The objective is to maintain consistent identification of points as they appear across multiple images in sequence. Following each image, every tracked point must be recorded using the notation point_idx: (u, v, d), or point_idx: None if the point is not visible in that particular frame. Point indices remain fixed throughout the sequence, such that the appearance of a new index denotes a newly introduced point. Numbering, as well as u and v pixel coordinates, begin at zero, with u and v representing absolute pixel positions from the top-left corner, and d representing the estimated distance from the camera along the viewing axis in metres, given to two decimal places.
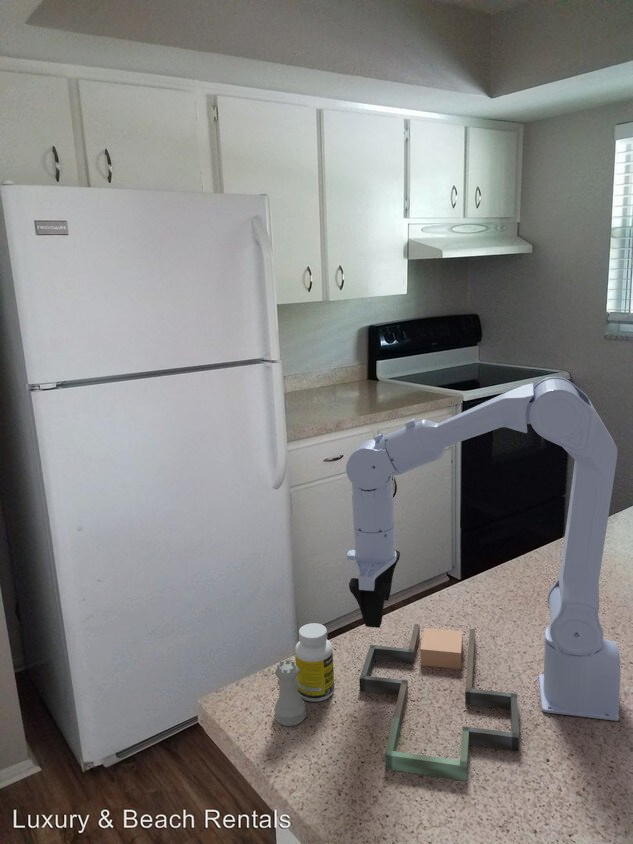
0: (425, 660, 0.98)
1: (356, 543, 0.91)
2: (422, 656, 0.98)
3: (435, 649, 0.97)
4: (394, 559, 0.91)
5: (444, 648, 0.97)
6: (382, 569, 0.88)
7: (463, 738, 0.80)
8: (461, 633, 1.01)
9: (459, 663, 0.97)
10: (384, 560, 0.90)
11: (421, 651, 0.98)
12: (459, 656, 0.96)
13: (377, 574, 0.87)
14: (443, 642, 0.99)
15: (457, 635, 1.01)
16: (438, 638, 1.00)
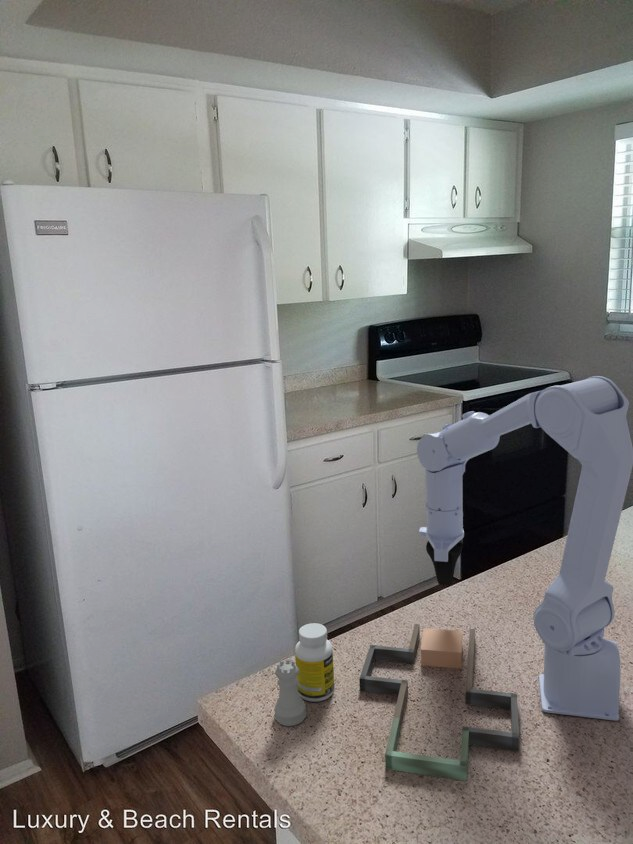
0: (426, 660, 0.98)
1: (429, 520, 1.02)
2: (422, 656, 0.98)
3: (435, 649, 0.97)
4: (462, 535, 1.02)
5: (445, 648, 0.97)
6: (453, 543, 1.00)
7: (463, 738, 0.80)
8: (461, 633, 1.01)
9: (460, 663, 0.97)
10: (454, 535, 1.01)
11: (422, 651, 0.98)
12: (460, 656, 0.96)
13: (450, 547, 0.98)
14: (443, 642, 0.99)
15: (457, 635, 1.01)
16: (438, 638, 1.00)
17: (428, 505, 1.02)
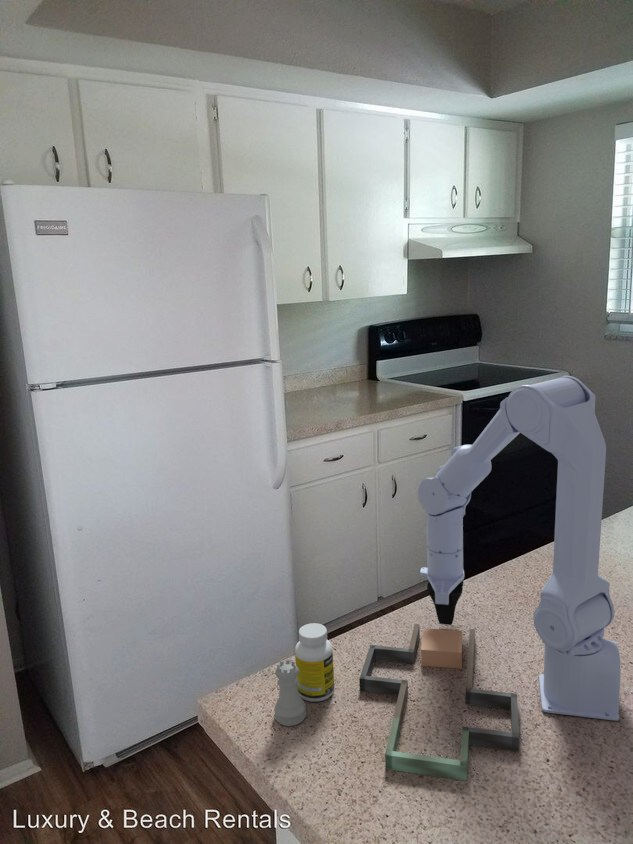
0: (426, 660, 0.98)
1: (429, 562, 1.04)
2: (422, 656, 0.98)
3: (436, 649, 0.97)
4: (463, 576, 1.04)
5: (445, 648, 0.97)
6: (454, 585, 1.01)
7: (463, 738, 0.80)
8: (460, 633, 1.01)
9: (460, 663, 0.97)
10: (455, 577, 1.03)
11: (422, 652, 0.98)
12: (460, 656, 0.96)
13: (450, 590, 1.00)
14: (443, 642, 0.99)
15: (457, 635, 1.01)
16: (438, 638, 1.00)
17: (429, 547, 1.03)
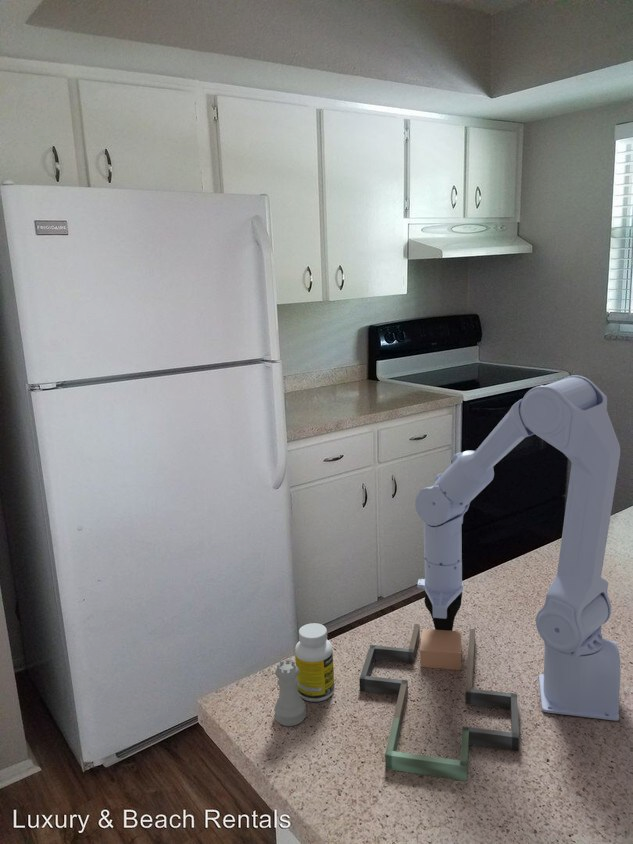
0: (425, 661, 0.97)
1: (427, 574, 1.00)
2: (421, 657, 0.97)
3: (435, 650, 0.97)
4: (461, 588, 1.00)
5: (444, 649, 0.97)
6: (452, 598, 0.97)
7: (463, 738, 0.80)
8: (460, 633, 1.01)
9: (459, 663, 0.96)
10: (453, 590, 0.99)
11: (421, 652, 0.97)
12: (459, 656, 0.96)
13: (449, 603, 0.96)
14: (442, 643, 0.99)
15: (456, 635, 1.00)
16: (437, 638, 1.00)
17: (428, 559, 0.99)
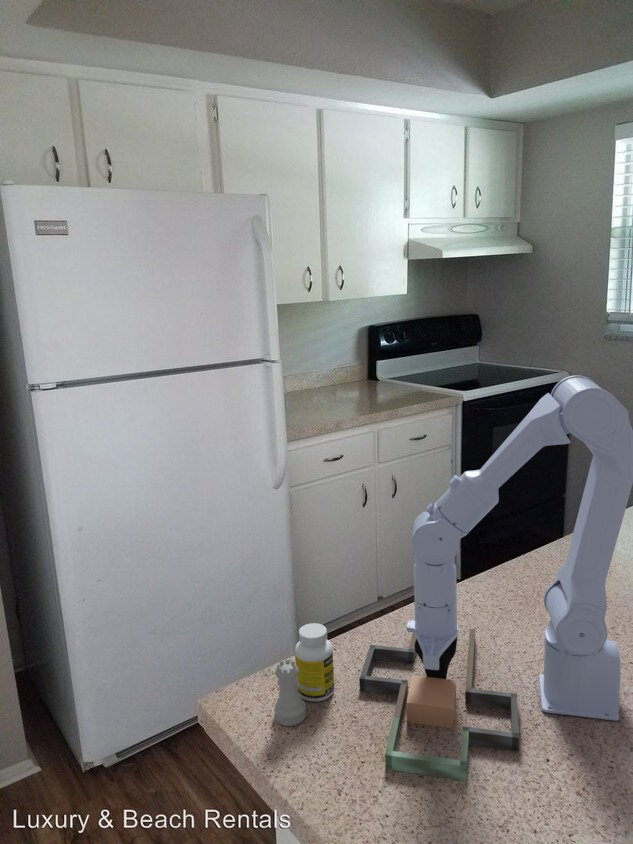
0: (412, 715, 0.86)
1: (417, 616, 0.88)
2: (408, 710, 0.86)
3: (423, 703, 0.85)
4: (456, 633, 0.88)
5: (434, 702, 0.85)
6: (446, 646, 0.85)
7: (463, 738, 0.80)
8: (454, 683, 0.89)
9: (451, 720, 0.84)
10: (447, 635, 0.87)
11: (407, 705, 0.86)
12: (451, 712, 0.84)
13: (441, 652, 0.84)
14: (433, 694, 0.87)
15: (449, 685, 0.88)
16: (428, 688, 0.88)
17: (430, 604, 0.86)
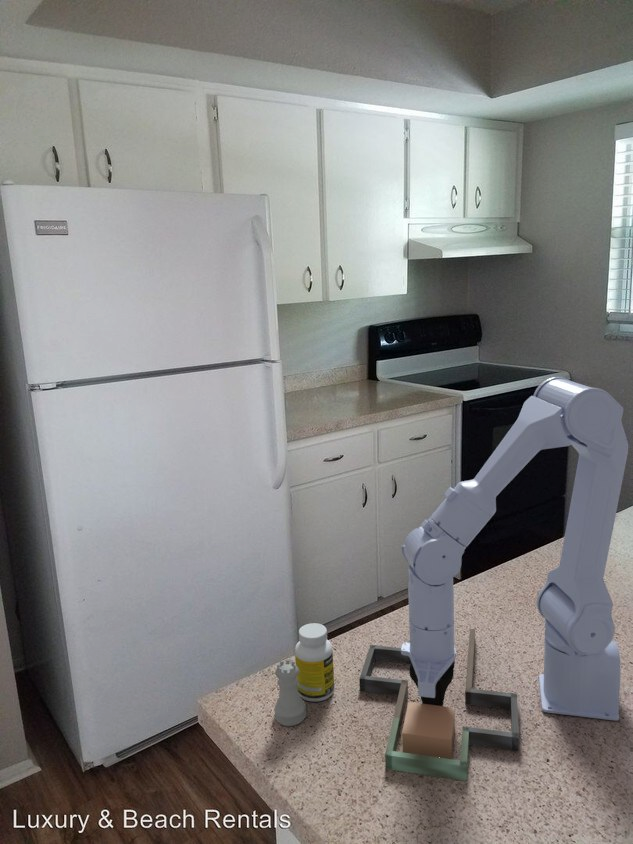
0: (408, 746, 0.80)
1: (412, 639, 0.83)
2: (404, 741, 0.80)
3: (420, 734, 0.80)
4: (454, 657, 0.83)
5: (431, 732, 0.80)
6: (442, 671, 0.80)
7: (463, 738, 0.80)
8: (453, 710, 0.84)
9: (449, 752, 0.79)
10: (444, 659, 0.82)
11: (403, 735, 0.80)
12: (449, 743, 0.79)
13: (438, 678, 0.79)
14: (430, 723, 0.82)
15: (448, 713, 0.83)
16: (425, 717, 0.83)
17: (432, 628, 0.81)
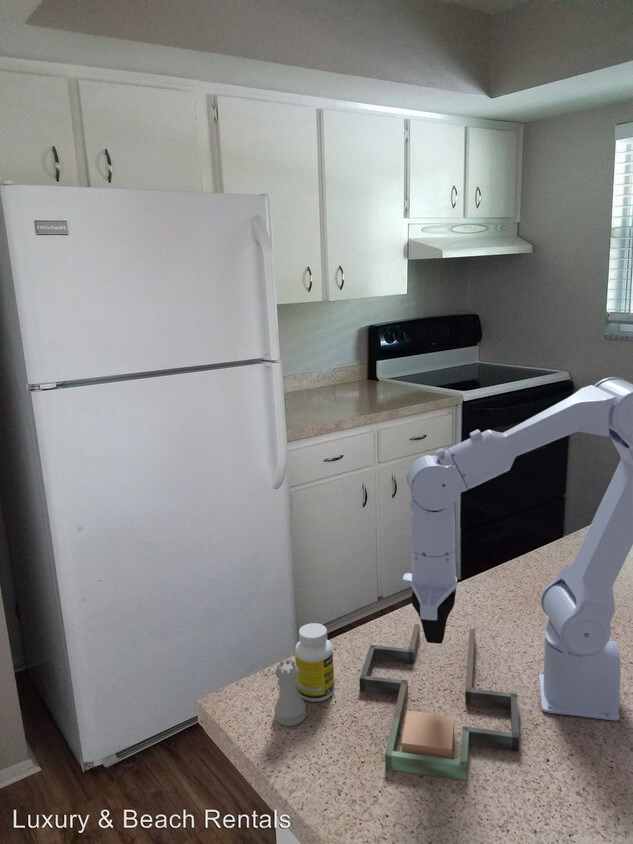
0: None
1: (414, 567, 0.84)
2: (404, 751, 0.79)
3: (420, 743, 0.78)
4: (455, 584, 0.84)
5: (431, 742, 0.79)
6: (444, 596, 0.81)
7: (463, 738, 0.80)
8: (452, 719, 0.82)
9: None
10: (445, 586, 0.83)
11: (403, 745, 0.79)
12: (450, 753, 0.77)
13: (439, 602, 0.80)
14: (430, 732, 0.80)
15: (447, 722, 0.82)
16: (424, 726, 0.81)
17: (429, 553, 0.82)
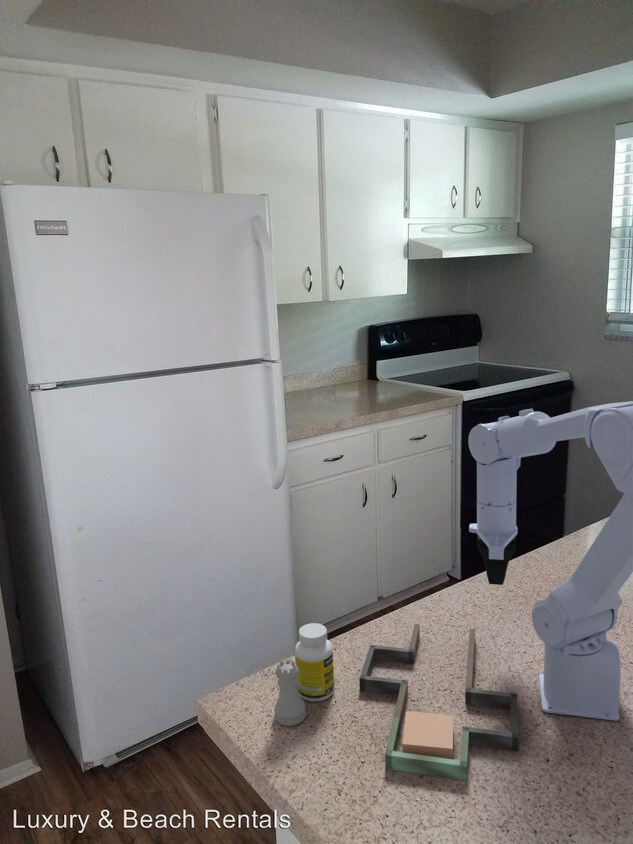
0: None
1: (480, 516, 0.97)
2: (404, 752, 0.79)
3: (420, 744, 0.78)
4: (516, 532, 0.97)
5: (432, 742, 0.79)
6: (508, 540, 0.94)
7: (463, 738, 0.80)
8: (451, 718, 0.82)
9: None
10: (508, 532, 0.96)
11: (403, 746, 0.79)
12: (451, 752, 0.77)
13: (505, 544, 0.93)
14: (430, 733, 0.80)
15: (447, 721, 0.82)
16: (424, 726, 0.81)
17: (478, 499, 0.97)
